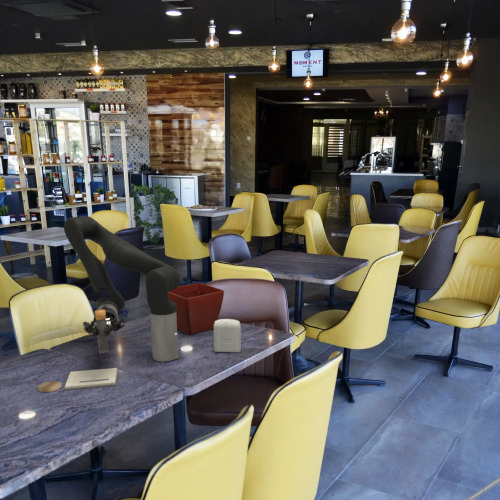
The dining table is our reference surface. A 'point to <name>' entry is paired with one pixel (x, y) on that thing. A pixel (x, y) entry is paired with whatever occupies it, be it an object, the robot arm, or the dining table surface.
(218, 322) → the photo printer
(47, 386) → the coaster
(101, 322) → the marker
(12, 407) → the dining table surface
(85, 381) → the notepad
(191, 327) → the plant pot
